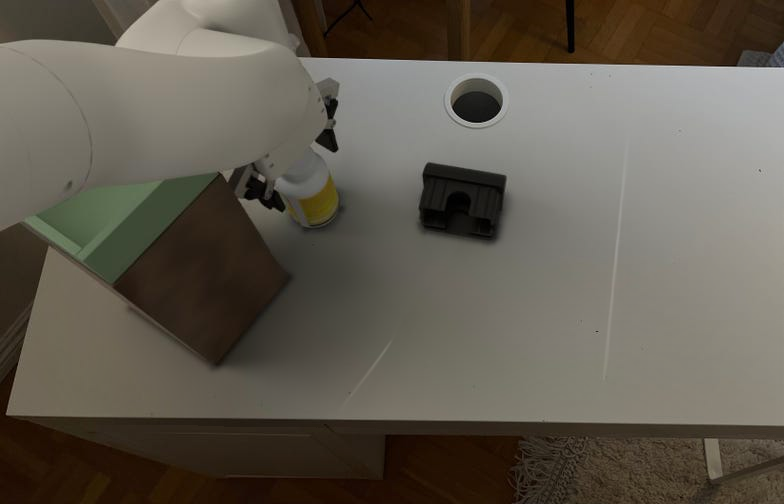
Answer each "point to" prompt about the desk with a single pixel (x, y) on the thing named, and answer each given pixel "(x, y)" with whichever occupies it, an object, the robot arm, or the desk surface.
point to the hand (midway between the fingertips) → (301, 174)
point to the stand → (200, 273)
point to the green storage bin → (117, 221)
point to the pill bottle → (309, 191)
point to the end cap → (461, 200)
